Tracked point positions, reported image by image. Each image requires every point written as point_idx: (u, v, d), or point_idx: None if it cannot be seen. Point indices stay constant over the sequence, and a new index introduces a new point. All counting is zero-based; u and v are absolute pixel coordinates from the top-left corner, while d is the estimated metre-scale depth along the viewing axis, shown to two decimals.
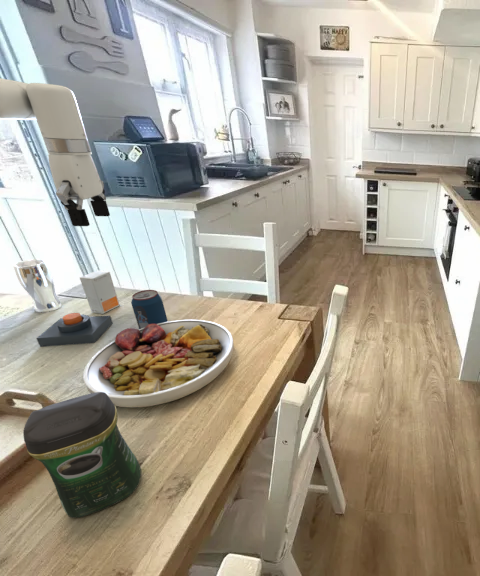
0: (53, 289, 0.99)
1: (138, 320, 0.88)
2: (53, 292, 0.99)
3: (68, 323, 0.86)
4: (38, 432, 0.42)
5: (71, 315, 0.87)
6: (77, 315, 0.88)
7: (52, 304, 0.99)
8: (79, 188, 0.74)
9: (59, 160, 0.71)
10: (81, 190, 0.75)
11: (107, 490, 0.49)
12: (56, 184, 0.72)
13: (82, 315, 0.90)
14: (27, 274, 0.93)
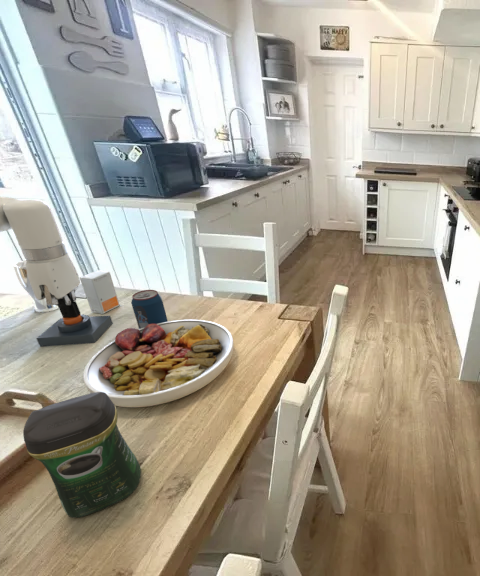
0: None
1: (138, 320, 0.88)
2: None
3: (68, 323, 0.86)
4: (38, 432, 0.42)
5: None
6: None
7: None
8: (55, 290, 0.79)
9: (36, 268, 0.76)
10: (57, 291, 0.80)
11: (107, 490, 0.49)
12: (33, 288, 0.78)
13: (82, 315, 0.90)
14: (27, 274, 0.93)
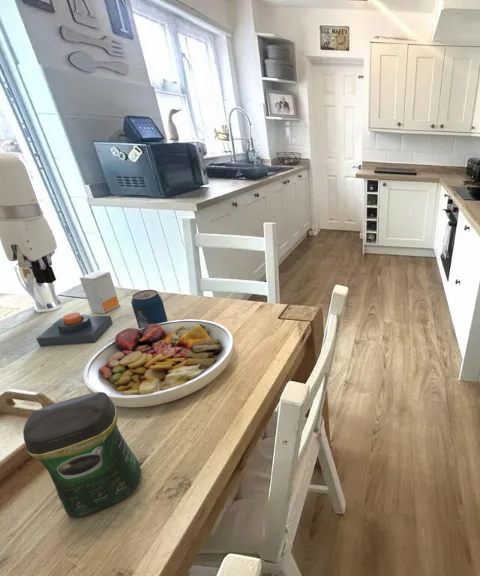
0: (53, 289, 0.99)
1: (138, 320, 0.88)
2: (53, 292, 0.99)
3: (68, 323, 0.86)
4: (38, 432, 0.42)
5: (71, 315, 0.87)
6: (77, 315, 0.88)
7: (52, 304, 0.99)
8: (28, 252, 0.75)
9: (8, 226, 0.72)
10: (31, 253, 0.76)
11: (107, 490, 0.49)
12: (4, 248, 0.74)
13: (82, 315, 0.90)
14: (27, 274, 0.93)
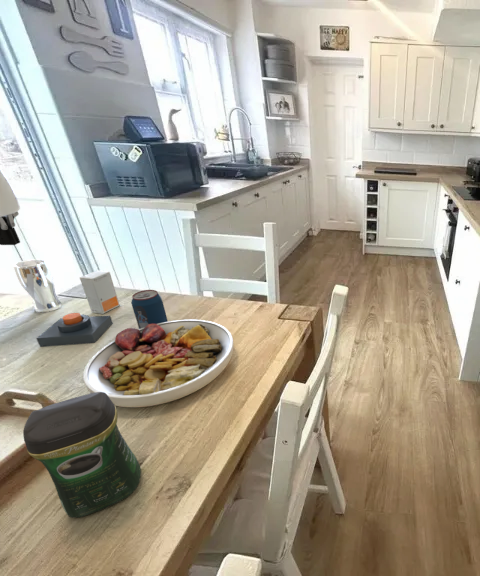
0: (53, 289, 0.99)
1: (138, 320, 0.88)
2: (53, 292, 0.99)
3: (68, 323, 0.86)
4: (38, 432, 0.42)
5: (71, 315, 0.87)
6: (77, 315, 0.88)
7: (52, 304, 0.99)
8: None
9: None
10: None
11: (107, 490, 0.49)
12: None
13: (82, 315, 0.90)
14: (27, 274, 0.93)
